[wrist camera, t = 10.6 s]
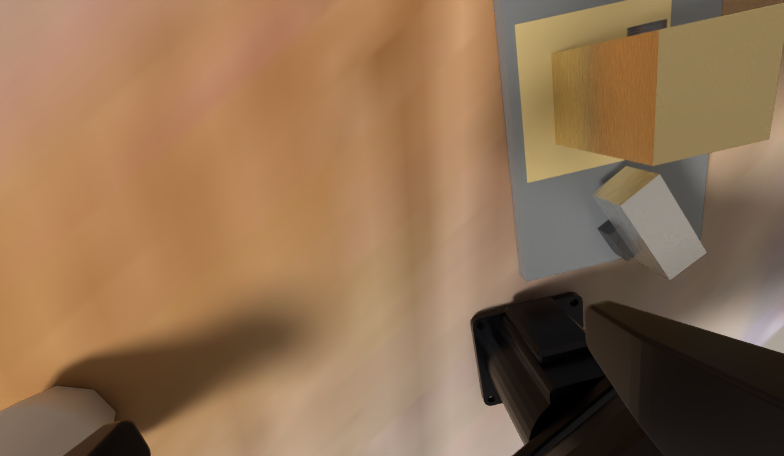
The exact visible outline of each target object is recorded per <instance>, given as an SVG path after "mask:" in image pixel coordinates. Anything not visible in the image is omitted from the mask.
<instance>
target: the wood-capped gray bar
mask: <svg viewBox="0 0 784 456" xmlns="http://www.w3.org/2000/svg"><path fill="white" fill-rule="evenodd" d="M591 195H592V196H593V197H594V199H595V200H596V202H597V203H598V205H599V206H600V207H601V209H602V210H603V212H604V213H605V215H606V216H607V218H608V220H607V221H606V222H605V223H603V224H602V225H601V226H600V227H598V228H597V229H598V231H599V232H600V234H601V235H602V236H603V238H604V239H605V241H606V242H607V243H608V245H609V246H610V248H611V249H612V250H613V252H614V253H615V254H616V255H618V256H620V257H622V258H623V259H625V260H627V261H629V260H630V259H631V258H633V257H634V256H635V258H636V259H637V261H638V262H639V263H641V264H642V265H644V266H646V267H648V268H649V269H651V270H653V271H655V272H657V273H658V274H660V275H662V276H664V277H665V278H667V279H669V280H671V279H672V278H674V277H675V276H676V275H678V274H679V273H680V272H682V271H683V270H684V269H686V268H687V267H688V266H690V265H691V264H692V263H694V262H695V261H696V260H698V259H699V258H700V257H702V256H703V255H704V254H706V253H707V252H706V250H705V249H704V247H703V245H702V244H701V242H700V240H699V239H698V237H697V235H696V234H695V232H694V230H693V229H692V227H691V225H690V224H689V222H688V220H687V219H686V217H685V215H684V214H683V212H682V210H681V209H680V207H679V205H678V204H677V202H676V200H675V199H674V197H673V195H672V194H671V192H670V190H669V189H668V187H667V185H666V184H665V182H664V180H663V179H662V177H661V175H660V174H657V173H653V172H649V171H645V170H641V169H637V168H633V167H628V166H626V167H624V168H623V169H622V170H621V171H619V172H618V173H617V174H616V175H615V176H613V177H612V178H611V179H610V180H608V181H607V182H606V183H605V184H604V185H602V186H601V187H600V188H599V189H597V190H596V191H595V192H594V193H593V194H591Z"/></svg>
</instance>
